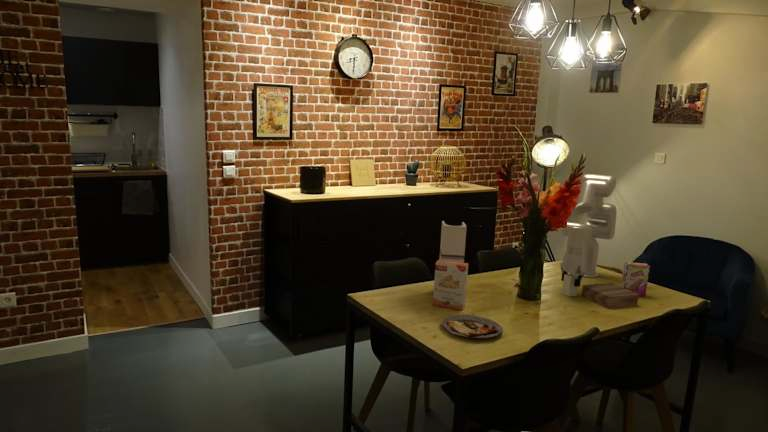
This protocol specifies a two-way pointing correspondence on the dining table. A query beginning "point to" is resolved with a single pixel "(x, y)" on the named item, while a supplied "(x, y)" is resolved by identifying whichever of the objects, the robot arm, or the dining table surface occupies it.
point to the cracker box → (450, 284)
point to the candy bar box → (635, 277)
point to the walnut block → (610, 295)
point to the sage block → (569, 285)
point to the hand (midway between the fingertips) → (570, 283)
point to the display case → (453, 242)
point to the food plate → (472, 326)
